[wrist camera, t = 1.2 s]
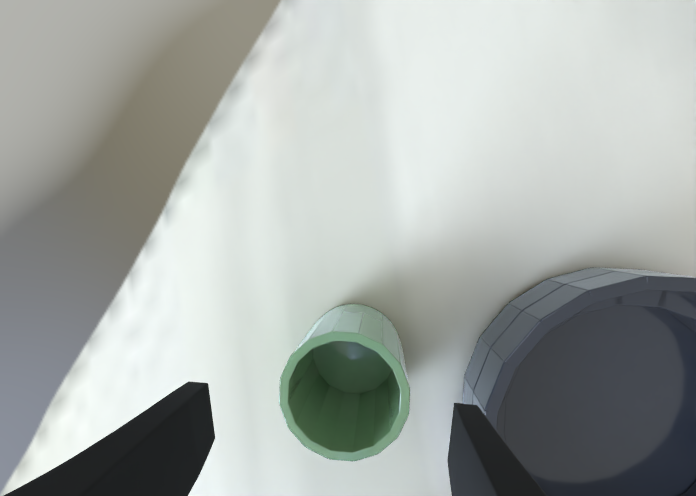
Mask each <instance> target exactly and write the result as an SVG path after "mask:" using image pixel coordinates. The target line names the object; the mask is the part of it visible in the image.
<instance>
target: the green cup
mask: <svg viewBox="0 0 696 496" xmlns="http://www.w3.org/2000/svg"><path fill="white" fill-rule="evenodd" d="M409 402H410V386H409V381H408V376H407V370H406V365H405V360H404V354H403V349H402V345H401V342H400V339H399V335H398V333H397V331H396V329H395V327H394V326H393V324H392V323H391V322H390V320H389V319H388V318H387V317H386V316H385V315H383V314H382V313H381V312H379V311H378V310H376V309H374V308H371V307H369V306H365V305H361V304H347V305H342V306H338V307H336V308H333V309H332V310H330V311H328V312H327V313H326V314H324V315H323V316H322V317H321V318H320V319H319V320H318V321H317V322H316V323H315V324H314V326H313V327H312V328H311V329H310V331H309V332H308V333H307V335H306V336H305V337H304V339H303V340H302V341H301V343H300V344H299V345H298V347H297V348H296V349H295V351H294V352H293V353H292V355H291V356H290V358H289V360H288V362H287V364H286V366H285V369H284V371H283V373H282V375H281V377H280V394H279V404H280V407H281V410H282V413H283V416H284V418H285V421H286V424H287V426H288V428H289V430H290V431H291V432H292V433H293V434H294V435H295V436H296V437H297V439H298V440H299V441H300V442H301V443H302V444H303V445H304V446H305V447H306V448H308V449H310V450H312V451H314V452H316V453H317V454H319V455H321V456H323V457H325V458H327V459H328V458H329V459H333V460H344V461H357V460H360V459H364V458H367V457H370V456H373V455H377V454H379V453H380V452H381V451H382V450H384V449H385V448H386V447H387V446H388V445H389V444H391V443H392V442H393V441H394V440H395V439H397V437H398V436H399V434H400V432H401V430H402V428H403V426H404V424H405V422H406V420H407V417H408V415H409Z"/></svg>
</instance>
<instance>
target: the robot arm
mask: <svg viewBox="0 0 696 496" xmlns="http://www.w3.org/2000/svg"><path fill="white" fill-rule="evenodd" d="M214 439H215V434H214V426H213V419H212V411H211V403H210V395H209V388H208V383H198V382H188V383H186V384H184V385H183V386H181V387H179V388H178V389H176V390H175V391H173V392H172V393H170V394H169V395H167V396H166V397H165V398H163V399H162V400H160V401H159V402H157V403H156V404H154V405H153V406H151V407H150V408H148V409H147V410H146V411H144V412H143V413H141V414H140V415H138V416H137V417H135V418H134V419H132V420H131V421H129V422H128V423H126V424H125V425H123V426H122V427H120V428H119V429H117V430H116V431H114V432H113V433H111V434H109V435H108V436H106V437H105V438H103V439H101V440H100V441H98V442H97V443H95V444H94V445H92V446H90V447H89V448H87V449H86V450H84V451H82V452H81V453H79V454H78V455H76V456H74V457H73V458H71V459H69V460H68V461H66V462H64V463H63V464H61V465H59V466H57V467H56V468H54V469H52V470H51V471H49V472H47V473H45V474H43V475H42V476H40V477H38V478H36V479H34V480H32V481H31V482H29V483H27V484H25V485H23V486H21V487H20V488H18V489H16V490H14V491H12V492H10V493H8V494H6V495H4V496H188V494H189V492H190V491H191V489H192V487H193V485H194V483H195V482H196V480H197V478H198V476H199V474H200V472H201V470H202V468H203V465H204V463H205V461H206V459H207V456H208V454H209V451H210V449H211V447H212V444H213V442H214ZM448 468H449V476H450V484H451V491H452V496H547V495H546V493H545V492H544V491H543V490H542V489H541V487H540V486H539V485H538V484H537V483H536V481H535V480H534V479H533V478H532V476H531V475H530V474H529V473H528V472H527V470H526V469H525V468H524V467H523V465H522V464H521V463H520V462H519V460H518V459H517V458H516V456H515V455H514V454H513V453H512V451H511V450H510V449H509V447H508V446H507V445H506V443H505V442H504V441H503V439H502V438H501V437H500V435H499V434H498V433H497V431H496V430H495V429H494V427H493V426H492V424H491V423H490V422H489V420H488V419H487V417H486V416H485V415H484V413H483V412H482V410H481V409H480V408H479V407H478V406H477V405H472V404H459V403H454V410H453V419H452V428H451V436H450V445H449V453H448Z"/></svg>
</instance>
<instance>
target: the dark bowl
mask: <svg viewBox="0 0 696 496" xmlns="http://www.w3.org/2000/svg"><path fill="white" fill-rule="evenodd" d="M463 404H472V405H477V406H478V407H479V408H480V409H481V410H482V412H483V413H484V415H485V416H486V417H487V419H488V420H489V422H490V423H491V424H492V426H493V427H494V429H495V430H496V431H497V433H498V434H499V435H500V437H501V438H502V439H503V441H504V442H505V443H506V445H507V446H508V447H509V449H510V450H511V451H512V453H513V454H514V455H515V456H516V458H517V459H518V460H519V462H520V463H521V464H522V465H523V467H524V468H525V469H526V470H527V472H528V473H529V474H530V475H531V476H532V478H533V479H534V480H535V481H536V483H537V484H538V485H539V486H540V487H541V489H542V490H543V491H544V492H545V493H546V495H547V496H696V277H693V276H686V275H678V274H670V273H663V272H655V271H648V270H640V269H619V268H594V267H593V268H588V269H584V270H580V271H576V272H572V273H568V274H564V275H561V276H557V277H553V278H549V279H547V280H545V281H543V282H541V283H540V284H538V285H536V286H535V287H533V288H532V289H530V290H528V291H527V292H525V293H524V294H522V295H520V296H519V297H517V298H516V299H514V300H512V301H511V302H509V304H507V305H506V306H505V307H504V309H503V310H502V311H501V312H500V313H499V315H498V316H497V317H496V318H495V319H494V320H493V322H492V323H491V324H490V325H489V326H488V328H487V329H486V330H485V331H484V332H483V334H482V335H481V337H479V340H478V342H477V345H476V347H475V350H474V352H473V355H472V358H471V360H470V363H469V365H468V368H467V370H466V373H465V377H464V391H463Z"/></svg>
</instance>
